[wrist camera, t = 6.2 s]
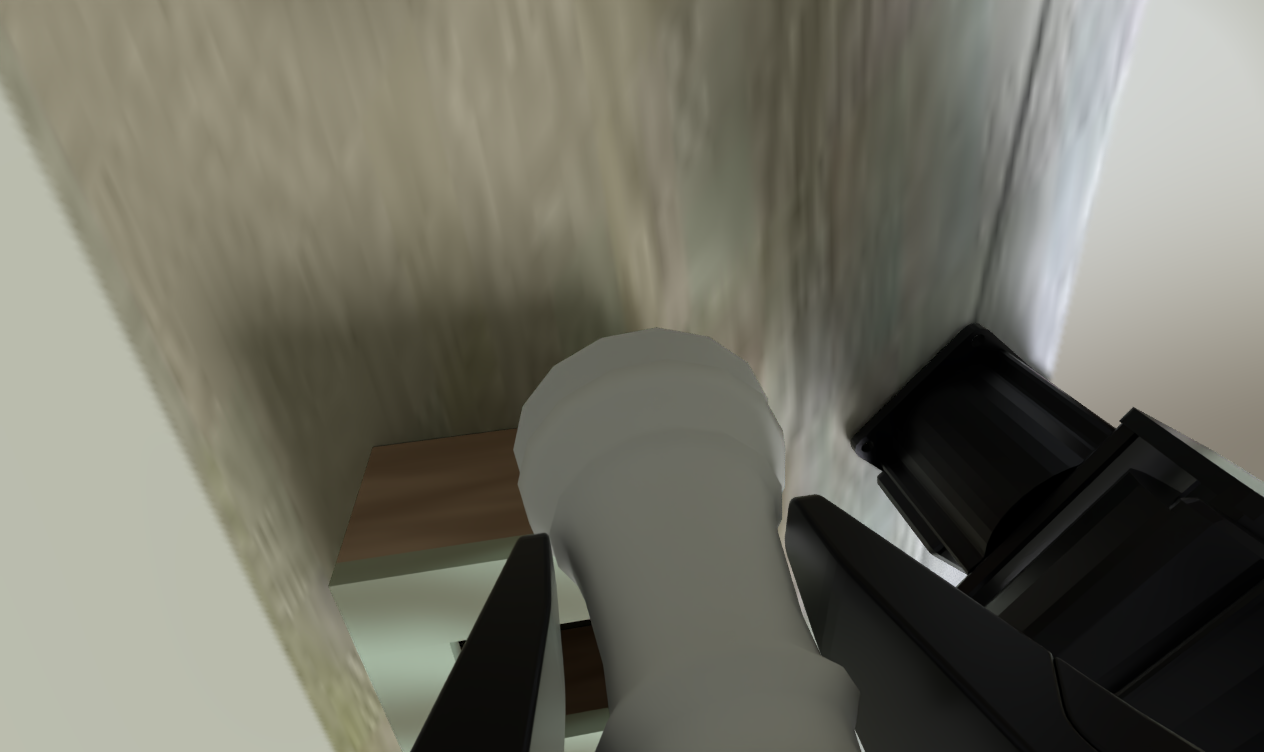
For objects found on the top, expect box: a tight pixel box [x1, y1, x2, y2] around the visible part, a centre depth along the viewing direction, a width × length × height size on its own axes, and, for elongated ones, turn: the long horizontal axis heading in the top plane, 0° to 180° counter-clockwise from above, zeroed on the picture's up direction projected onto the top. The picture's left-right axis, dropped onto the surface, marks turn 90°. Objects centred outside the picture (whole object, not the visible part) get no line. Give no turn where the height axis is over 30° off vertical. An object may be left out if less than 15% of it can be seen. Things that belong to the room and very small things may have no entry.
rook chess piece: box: [513, 327, 861, 752], centre depth 8 cm, size 4×4×8 cm
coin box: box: [329, 428, 610, 752], centre depth 22 cm, size 12×11×6 cm
